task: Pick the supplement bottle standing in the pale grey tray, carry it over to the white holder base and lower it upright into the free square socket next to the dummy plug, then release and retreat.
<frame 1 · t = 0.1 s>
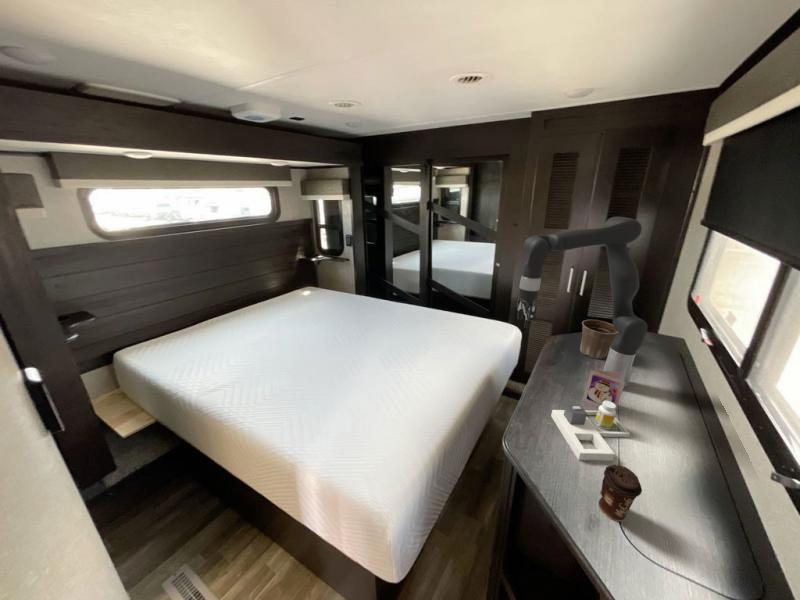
hand: (523, 323, 127), 29 cm above the dresser top, fingers open, 8 cm apart
plant pot: (592, 353, 162), on the dresser top
tray: (602, 424, 113), on the dresser top
coffee cup: (610, 509, 84), on the dresser top
supplement bottle: (602, 425, 114), resting in tray
white holder base: (579, 436, 108), on the dresser top
greeting card: (599, 403, 125), on the dresser top
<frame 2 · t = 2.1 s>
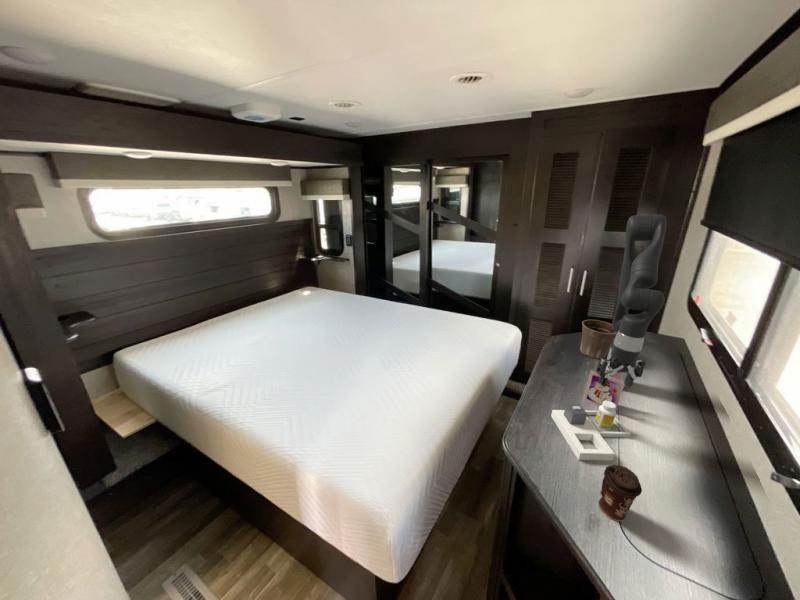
hand: (614, 385, 107), 18 cm above the dresser top, fingers open, 8 cm apart
nothing on the dresser top moved.
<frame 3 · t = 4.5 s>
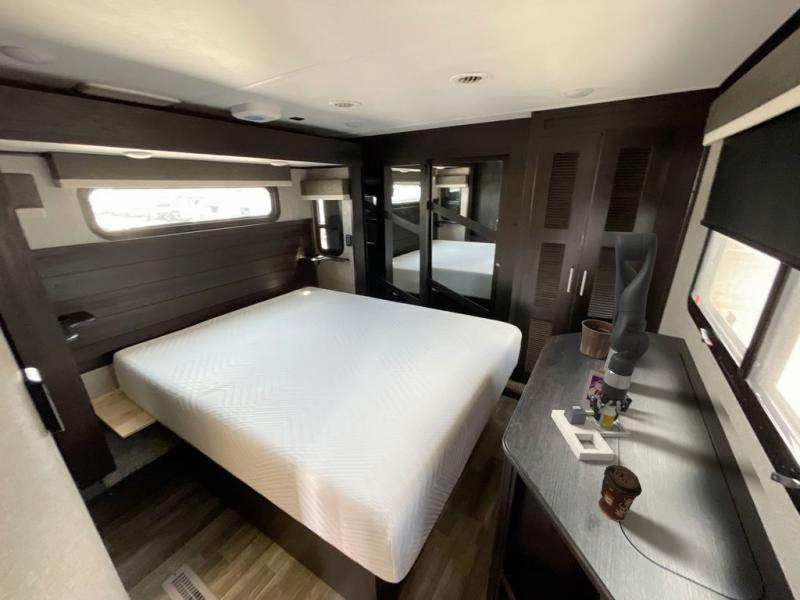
hand: (604, 419, 113), 2 cm above the dresser top, fingers closed on supplement bottle, 5 cm apart
supplement bottle: (602, 425, 114), resting in tray, touching gripper
everything else where it was.
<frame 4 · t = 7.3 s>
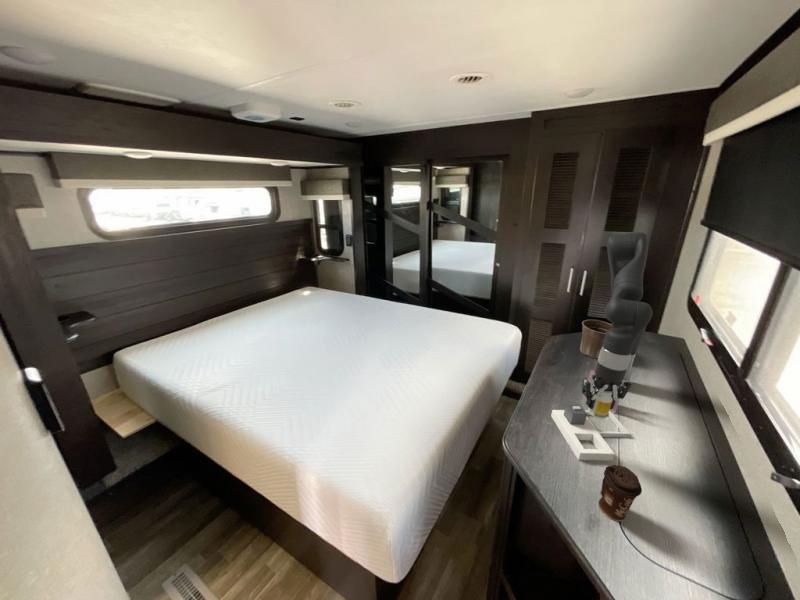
hand: (599, 407, 97), 17 cm above the dresser top, fingers closed on supplement bottle, 5 cm apart
supplement bottle: (597, 413, 98), point 14 cm above the dresser top, touching gripper
everything else where it was.
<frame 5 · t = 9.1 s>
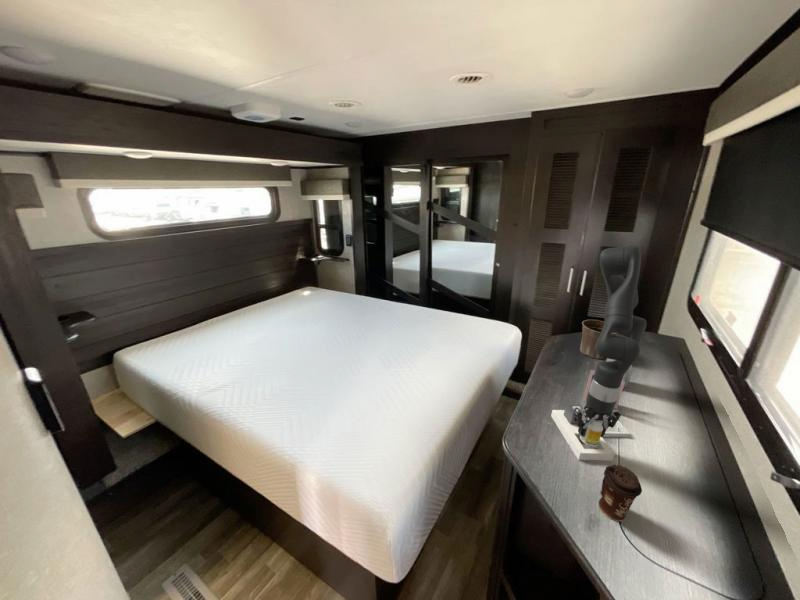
hand: (590, 434, 101), 6 cm above the dresser top, fingers closed on supplement bottle, 5 cm apart
supplement bottle: (588, 440, 102), point 3 cm above the dresser top, touching gripper
everything else where it was.
when the fingers open (4 cm above the dresser top, at t = 10.4 s): supplement bottle drops 2 cm, resting in white holder base.
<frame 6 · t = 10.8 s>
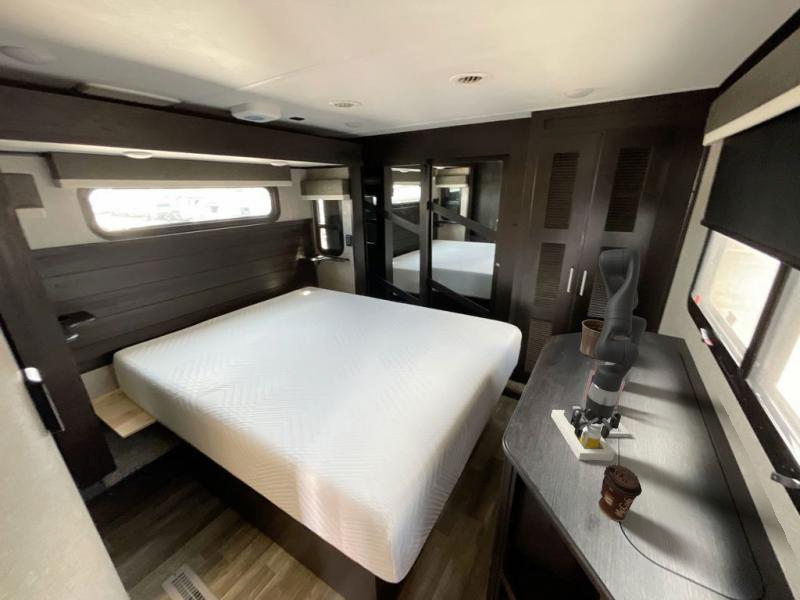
hand: (590, 436, 102), 5 cm above the dresser top, fingers open, 8 cm apart
supplement bottle: (587, 448, 104), resting in white holder base
everything else where it was.
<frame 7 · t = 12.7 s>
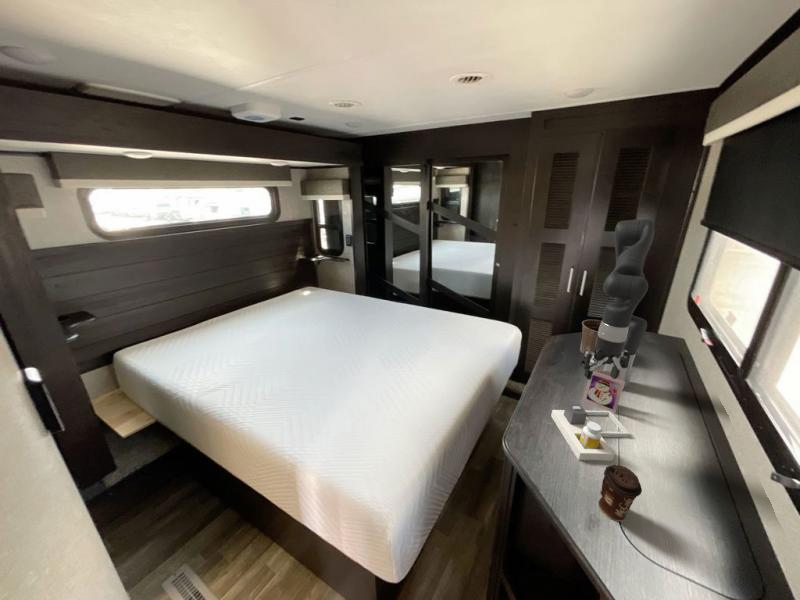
hand: (600, 377, 102), 23 cm above the dresser top, fingers open, 8 cm apart
nothing on the dresser top moved.
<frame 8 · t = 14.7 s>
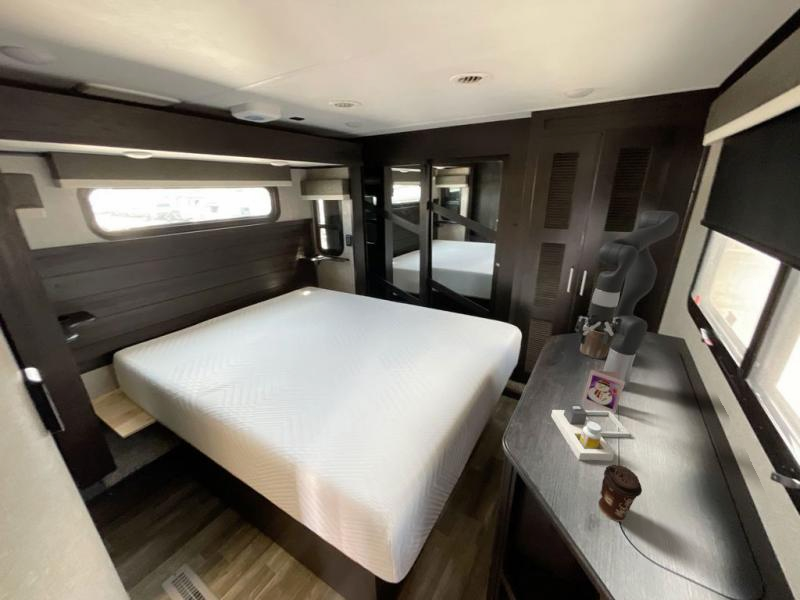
hand: (593, 343, 110), 30 cm above the dresser top, fingers open, 8 cm apart
nothing on the dresser top moved.
at the end: supplement bottle 0.2 cm from the target spot on the white holder base, point 0.0 cm above the white holder base's base; supplement bottle tilted 0°; the gripper is holding nothing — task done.
